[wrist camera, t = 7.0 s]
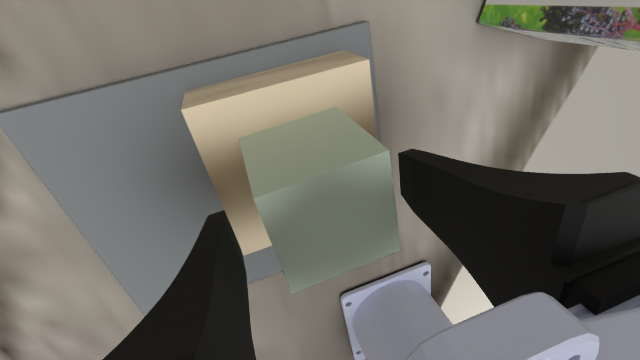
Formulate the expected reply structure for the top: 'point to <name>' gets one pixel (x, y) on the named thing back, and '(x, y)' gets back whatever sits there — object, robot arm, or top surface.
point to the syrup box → (569, 20)
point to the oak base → (269, 123)
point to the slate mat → (149, 160)
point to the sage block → (322, 195)
